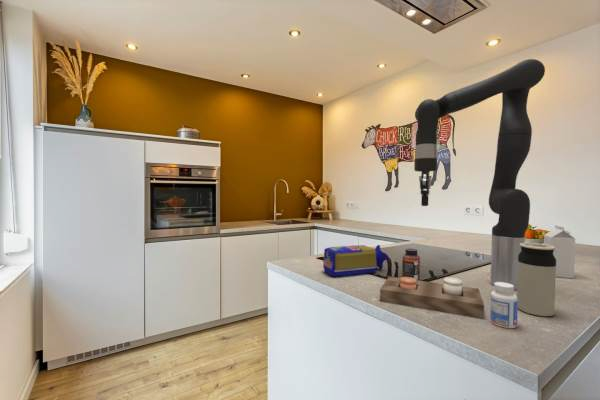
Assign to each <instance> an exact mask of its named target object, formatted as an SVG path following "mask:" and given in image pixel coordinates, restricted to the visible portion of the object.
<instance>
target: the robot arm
mask: <svg viewBox="0 0 600 400" xmlns="http://www.w3.org/2000/svg"><path fill="white" fill-rule="evenodd" d="M545 67H546V66H544V64H543V63H542V61H540V60H539V59H535V58H529V59H525V60H522V61H519V62H517V64H514V65H513V66H511V67H509V68H507V69H505V70H504V71H501V72H499V73H497V74H495V75H493V76H490V77H488V78H486V79H483V80H481V81H478V82H475V83H473V84H469V85H467V86H464V87H461V88H459V89H457V90H454V91H451V92H448V93H446V94H444V95H443V96H442V97H440V98H438V99H436V100H435V99H430V98H428V99H424V100H423V101H421V102H420V103H419V105H418V106H417V108H416V110H415V112H414V118H415V120H416V122H417V130H416V133H415V146H414V147H415V148H414V165H413V166H414V170H413V171H414V172H417V173H418V172H421V175H420V176H418V181H419V189H420V195H421V207H428V206H429V195H430V191H431V186H432V185H431V184H432V179H433V178H432V176H431V175H430V172H436V171H438V145H437V143H438V134H437V133H438V126H439V119H441V118H443V117H445V116H447V115H450V114H453V113H457V112H460V111H463V110H465V109H468V108H470V107H472V106H475V105H477V104H479V103H481V102H482V103H483V102H484V101H485V100H488V99H490V98H492V97H495V96H497V95H499V94H502V95H501V96H502V97H501V98H502V99H501V101H502V102H501V104H502V105H501V106H502V107H501V115H500V120H499V121H500V123H499V130H498V135H497V143H496V144H497V145H496V155H495V156H496V157H495V166H494V172H493V173H494V174H493V177H492V183H491V188H490V191H489V196H488V206H489V208H490V210H491V211H492V212H493V213H495V214H496V215H498V221H497V224H495V225H493V226H492V228H491V249H490V250H491V254H490V255H491V256H490V259H491V260H490V284H491V285H492V286H494V283H495V282H504V283H509V284H512V285H513V286H514V291H515V290H516V291H517V278H518V255H519V253H520V252H521V251H522V250H521V246H520V243H526V242H525V241H526V232H527V231H528V228H529V225H530V224H529V223H530V222H529V221H530V212H531V200H530V197H529V195H528V194H527V192H525V191H524V190H523V189H522V190H521V189H518V188H517V187H516V184H517V179H518V175H519V171H520V170H521V168H522V167H523V164H524V163H525V161H526V159H527V157H528V155H529V152H530V150H531V143H532V135H533V129H532V123H531V121H530V118H529V115H528V110H527V105H528V98H529V93H530V91H531V89H532V88H534V87H535V86H537V84H539V83H540V82H541V81H542V80H543V78H544V76H545V73H546V68H545Z"/></svg>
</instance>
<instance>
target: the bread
mask: <svg viewBox="0 0 600 400" xmlns="http://www.w3.org/2000/svg"><path fill="white" fill-rule="evenodd" d="M323 254H324V255H323V262H322V263H323V270H324V273H326V274H328V275H329V276H331V277H332V278H341V277H348V276H349V277H350V276H358V275H369V274H374V273H376V271H377V269H379V270H382V269H383V267H384V266H383V263H384V262H385V261H386V260H387V259H388V258H389V255H388V254H387V253H385V252H383V251H382V250H381V246H380V244H378V245H376V246H375V247H371V246H367V245H364V244H360V245H359V244H358V245H343V246H342V245H341V246H331V247H326V248H324V251H323Z"/></svg>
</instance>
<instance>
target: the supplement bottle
mask: <svg viewBox="0 0 600 400" xmlns="http://www.w3.org/2000/svg"><path fill="white" fill-rule="evenodd" d="M404 252H405V254H403V255H402V262H401V263H402V264H401V265H402V267H401V269H402V271H401V272H402V273H401V277H412V278H415V279H416V280H418V281H421V277H420V275H421V257H420V256H419V255H418V249H417V248H416V249H415V248H405V251H404Z"/></svg>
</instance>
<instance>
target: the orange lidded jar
mask: <svg viewBox="0 0 600 400" xmlns="http://www.w3.org/2000/svg"><path fill="white" fill-rule="evenodd" d="M399 278H400V287H401V288H408V289H414V290H416V279H415V278H412V277H402V276H401V277H399Z"/></svg>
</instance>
